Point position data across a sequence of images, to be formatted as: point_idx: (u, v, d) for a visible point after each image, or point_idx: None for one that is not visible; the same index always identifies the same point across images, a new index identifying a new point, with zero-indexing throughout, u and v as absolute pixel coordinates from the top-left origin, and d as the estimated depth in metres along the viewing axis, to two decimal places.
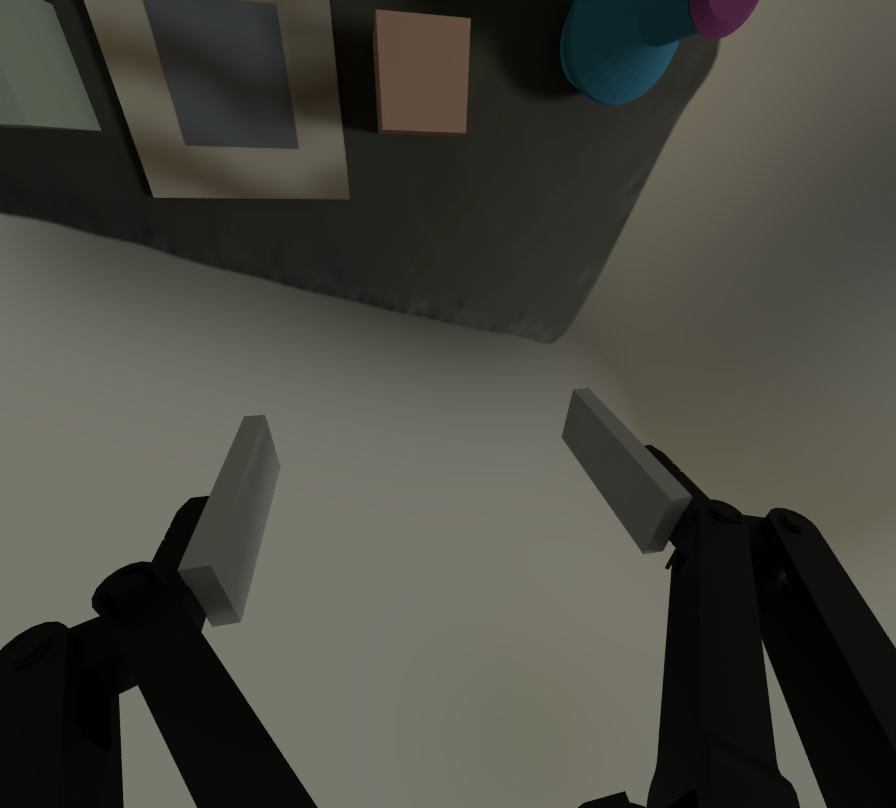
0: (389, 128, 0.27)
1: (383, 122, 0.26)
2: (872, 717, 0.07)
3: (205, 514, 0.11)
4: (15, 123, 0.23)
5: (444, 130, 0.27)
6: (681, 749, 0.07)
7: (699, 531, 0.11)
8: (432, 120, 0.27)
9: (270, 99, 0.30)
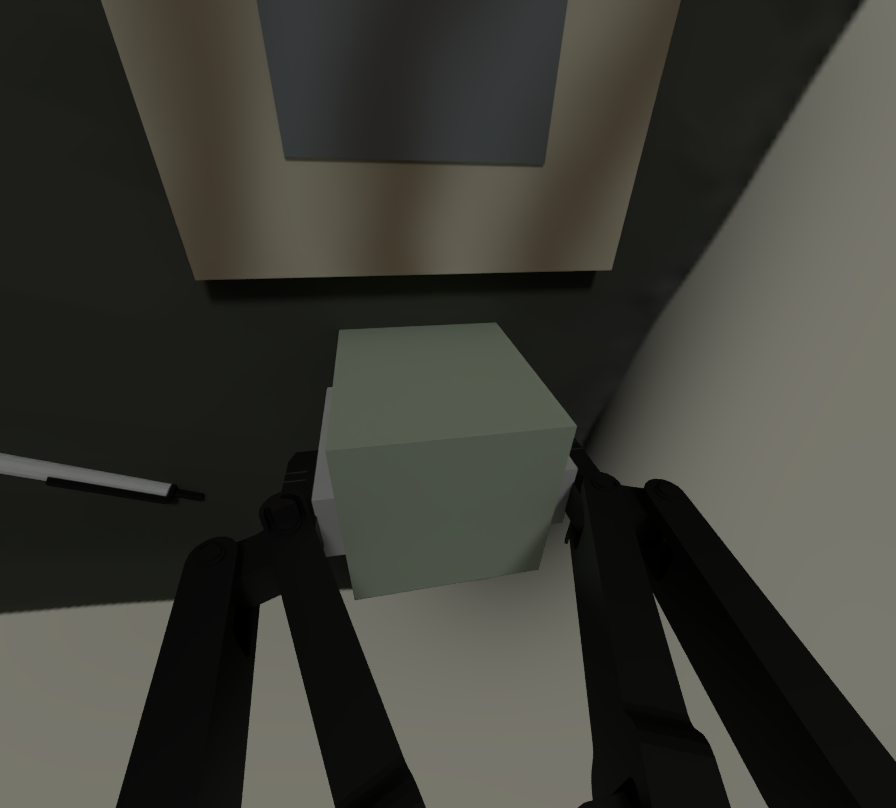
0: None
1: None
2: (763, 671, 0.08)
3: (320, 461, 0.13)
4: (570, 444, 0.11)
5: None
6: (613, 733, 0.08)
7: (587, 506, 0.11)
8: None
9: None
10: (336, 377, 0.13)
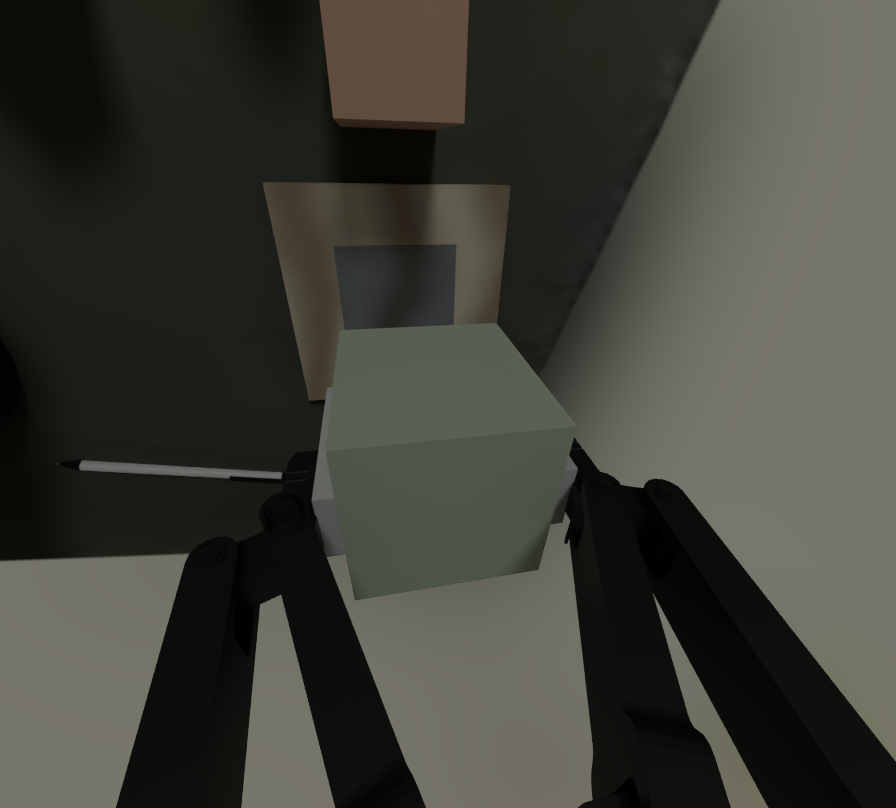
0: (463, 110, 0.18)
1: (455, 120, 0.18)
2: (762, 671, 0.08)
3: (320, 461, 0.13)
4: (570, 444, 0.11)
5: None
6: (612, 734, 0.08)
7: (587, 506, 0.11)
8: (453, 17, 0.16)
9: (412, 268, 0.28)
10: (336, 377, 0.13)
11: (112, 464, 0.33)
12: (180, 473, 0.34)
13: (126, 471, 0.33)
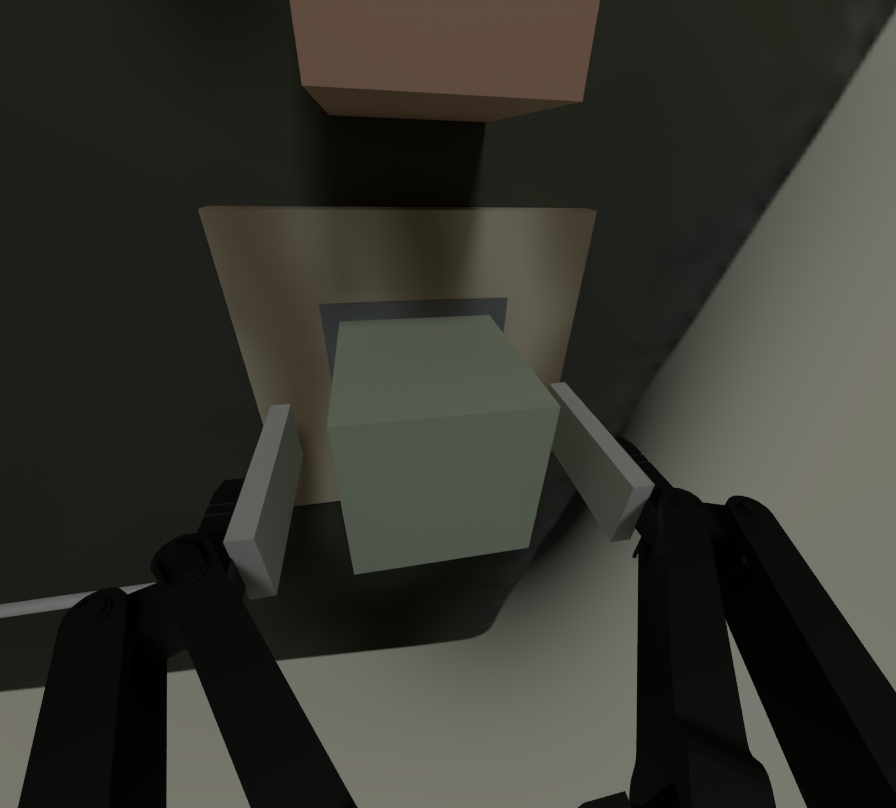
0: (583, 73, 0.08)
1: (566, 95, 0.08)
2: (835, 699, 0.08)
3: (243, 493, 0.11)
4: (554, 424, 0.12)
5: None
6: (659, 741, 0.08)
7: (662, 520, 0.11)
8: None
9: None
10: (337, 363, 0.14)
11: (19, 605, 0.24)
12: None
13: (40, 611, 0.24)
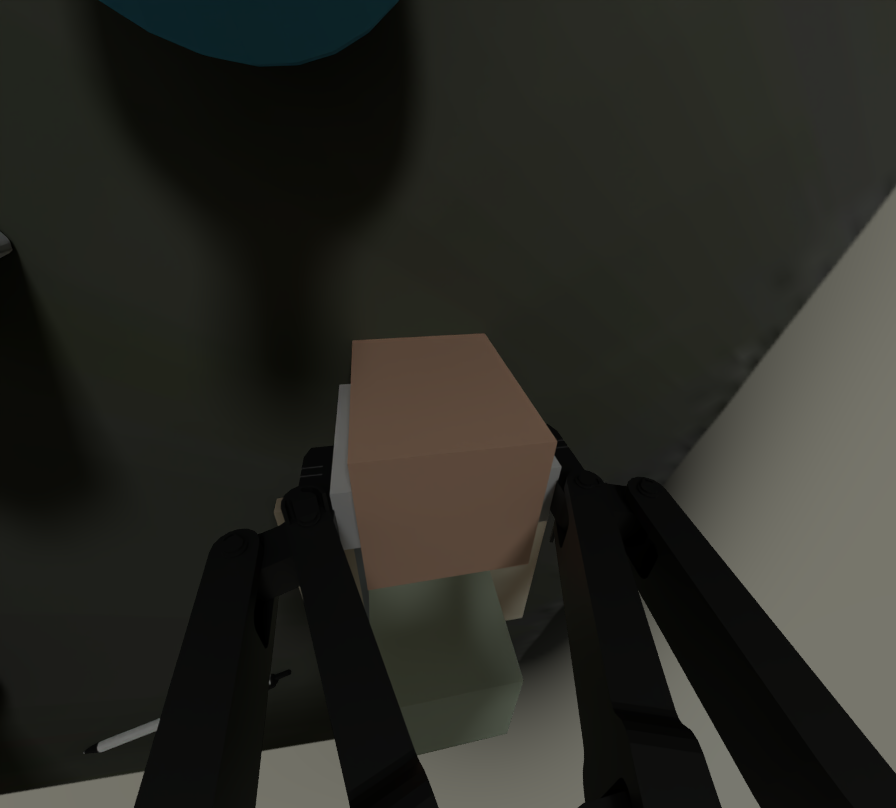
0: (528, 556, 0.14)
1: (518, 564, 0.14)
2: (748, 667, 0.08)
3: (336, 456, 0.13)
4: (520, 687, 0.18)
5: (545, 480, 0.12)
6: (602, 734, 0.08)
7: (571, 505, 0.12)
8: (525, 501, 0.12)
9: None
10: (371, 624, 0.20)
11: (121, 736, 0.31)
12: None
13: (135, 738, 0.31)
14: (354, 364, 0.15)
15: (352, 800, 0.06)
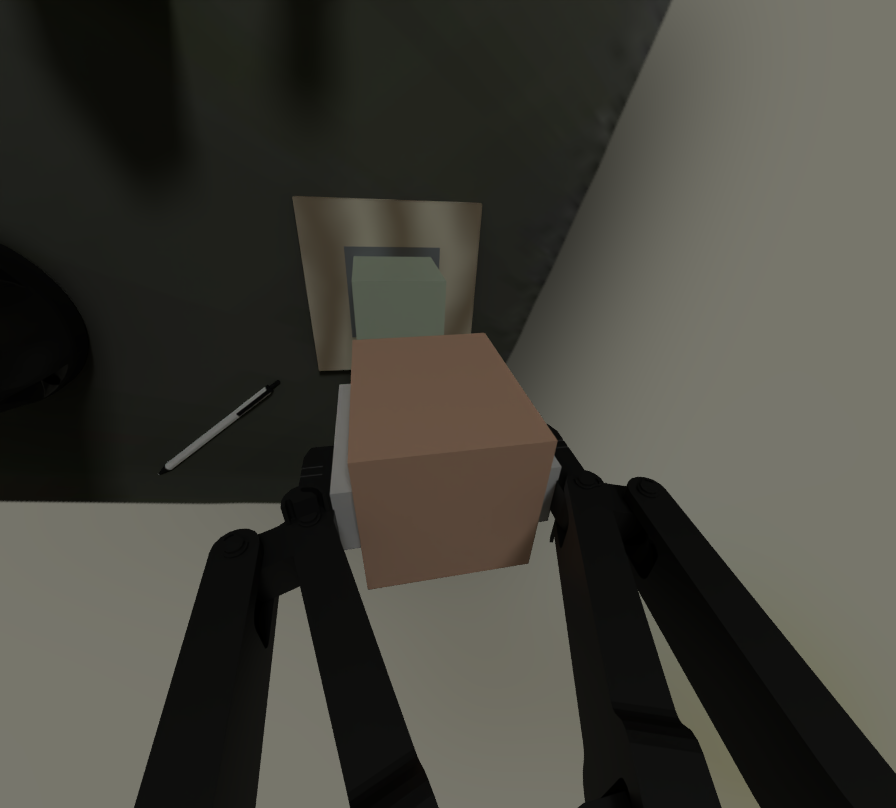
0: (528, 556, 0.14)
1: (518, 563, 0.14)
2: (748, 667, 0.08)
3: (336, 456, 0.13)
4: (445, 290, 0.29)
5: (545, 480, 0.12)
6: (602, 734, 0.08)
7: (571, 505, 0.12)
8: (526, 500, 0.12)
9: None
10: (353, 267, 0.31)
11: (178, 455, 0.43)
12: (211, 433, 0.42)
13: (187, 454, 0.43)
14: (354, 363, 0.15)
15: (352, 800, 0.06)
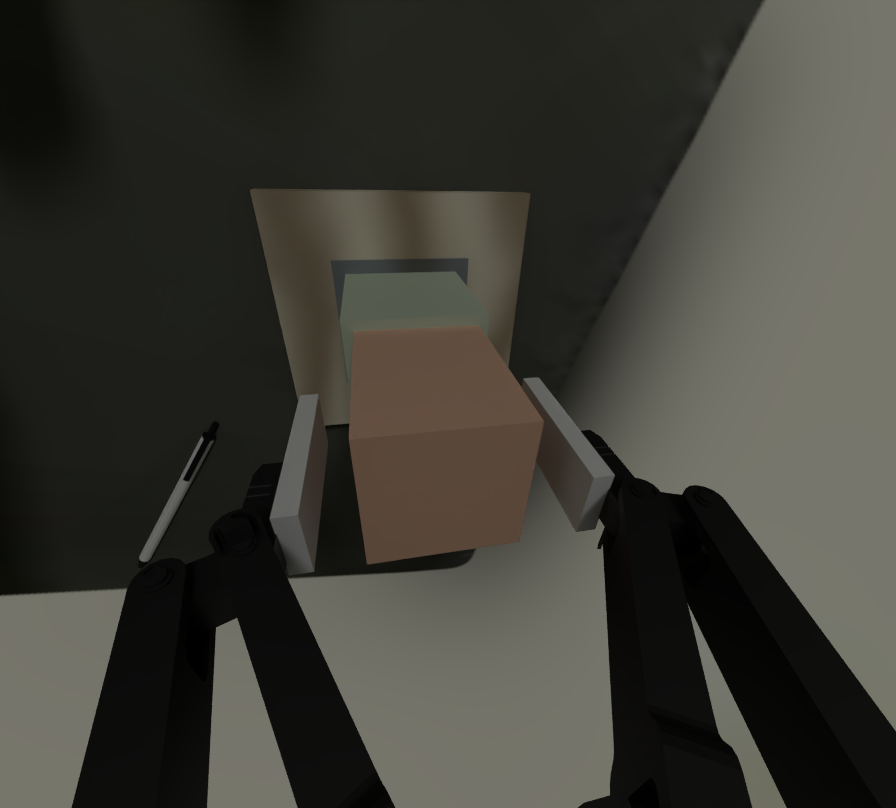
0: (518, 534, 0.15)
1: (509, 541, 0.15)
2: (797, 682, 0.08)
3: (283, 475, 0.12)
4: (486, 328, 0.19)
5: (533, 459, 0.13)
6: (635, 736, 0.08)
7: (623, 511, 0.11)
8: (515, 479, 0.13)
9: None
10: (344, 294, 0.20)
11: (147, 542, 0.34)
12: (168, 510, 0.32)
13: (155, 540, 0.33)
14: (355, 352, 0.16)
15: None
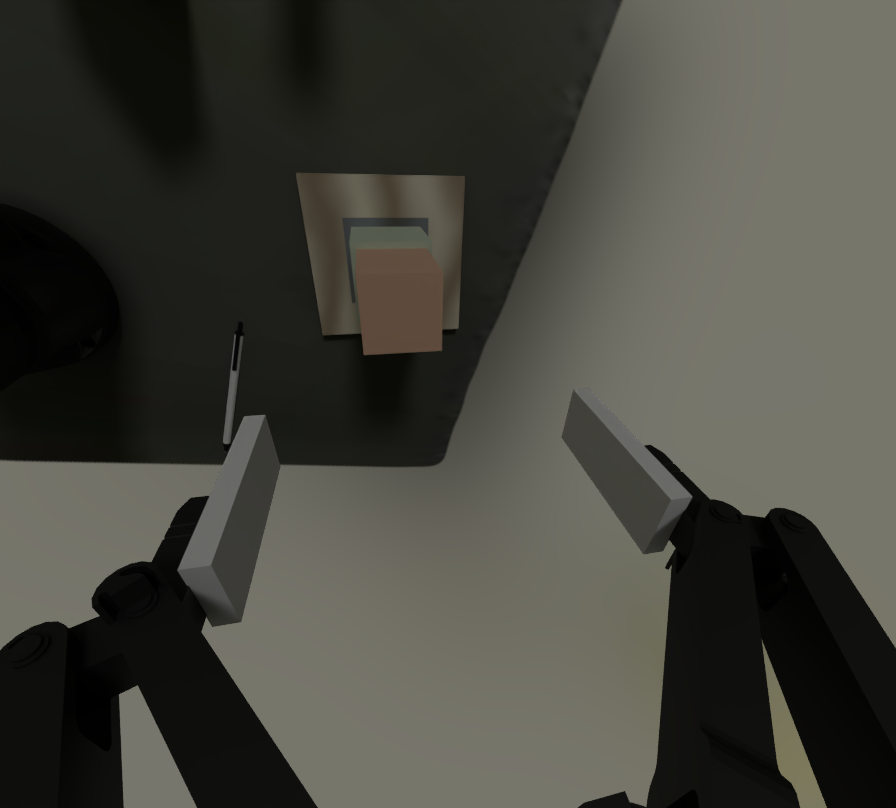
0: (440, 345, 0.30)
1: (436, 350, 0.30)
2: (872, 718, 0.07)
3: (205, 514, 0.11)
4: (431, 250, 0.33)
5: (441, 294, 0.27)
6: (681, 749, 0.07)
7: (699, 531, 0.11)
8: (434, 306, 0.28)
9: None
10: (351, 234, 0.35)
11: (224, 428, 0.49)
12: (230, 397, 0.46)
13: (229, 424, 0.48)
14: (357, 254, 0.30)
15: None
